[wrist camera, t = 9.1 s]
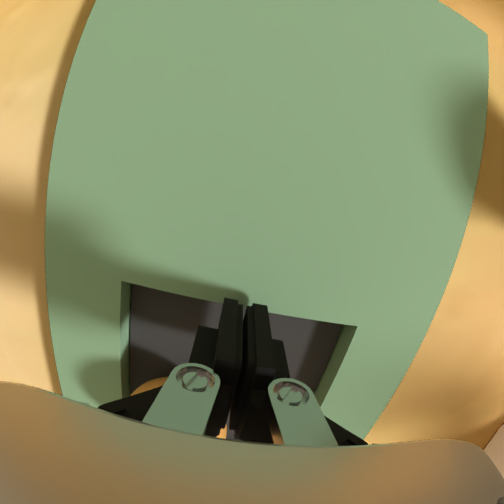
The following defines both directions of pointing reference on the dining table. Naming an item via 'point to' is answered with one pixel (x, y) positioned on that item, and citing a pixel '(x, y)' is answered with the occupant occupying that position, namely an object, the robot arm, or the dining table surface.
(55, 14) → the dining table surface
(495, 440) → the medicine bottle
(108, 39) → the mat
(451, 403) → the dining table surface
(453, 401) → the dining table surface
